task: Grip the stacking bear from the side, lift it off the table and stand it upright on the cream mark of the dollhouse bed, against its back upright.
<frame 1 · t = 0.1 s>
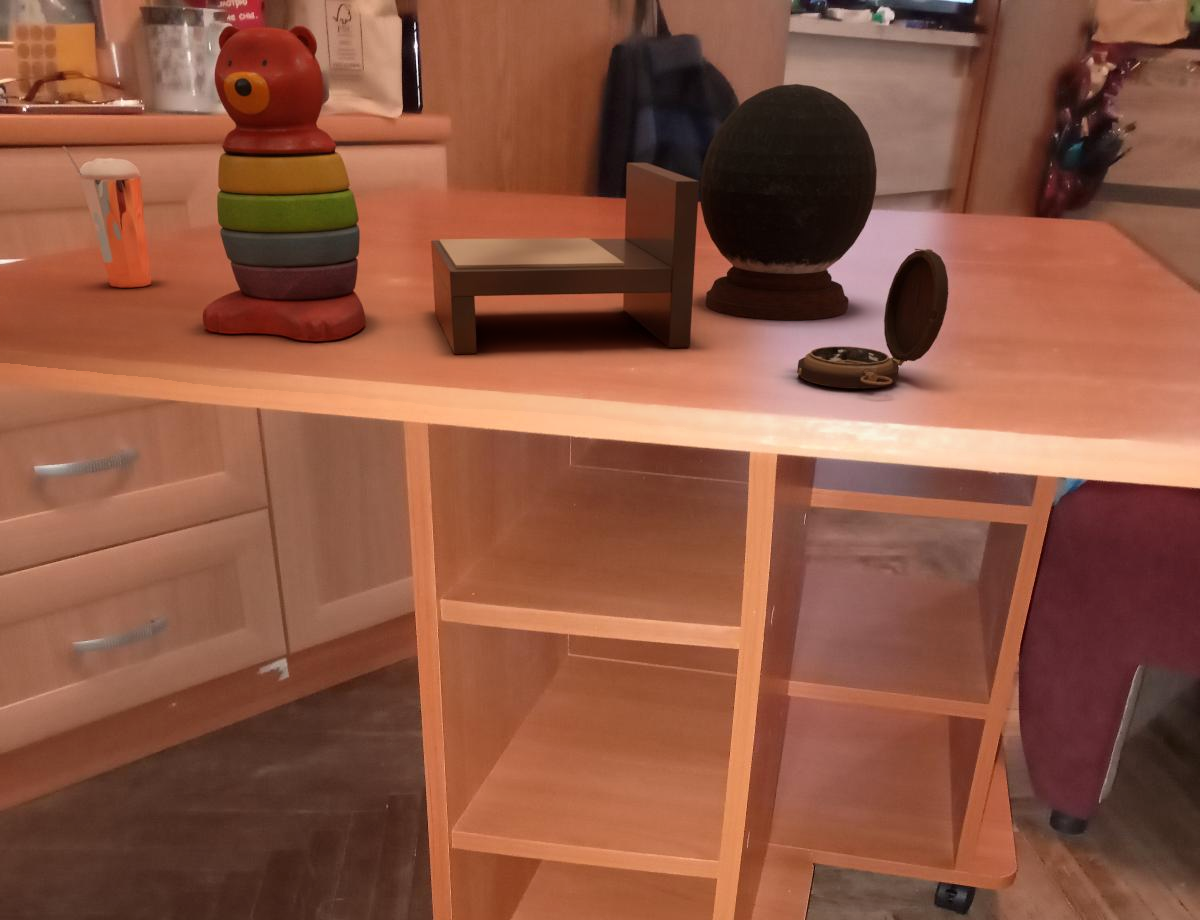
stacking bear: (298, 327, 82), on the table
dollhouse bed: (556, 329, 82), on the table
compass: (863, 386, 70), on the table
dark ball on base: (775, 308, 91), on the table
milkshake: (126, 287, 94), on the table
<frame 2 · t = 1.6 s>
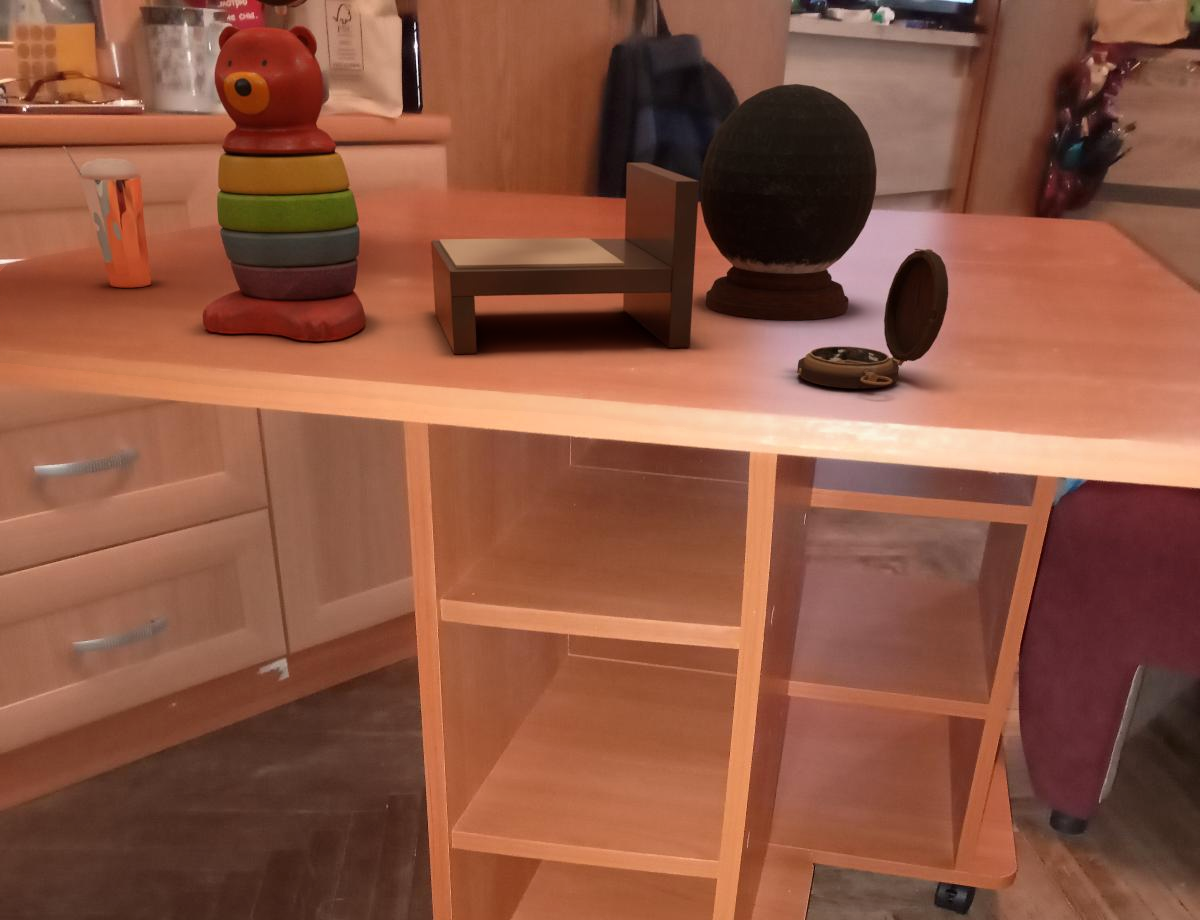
nothing on the table moved.
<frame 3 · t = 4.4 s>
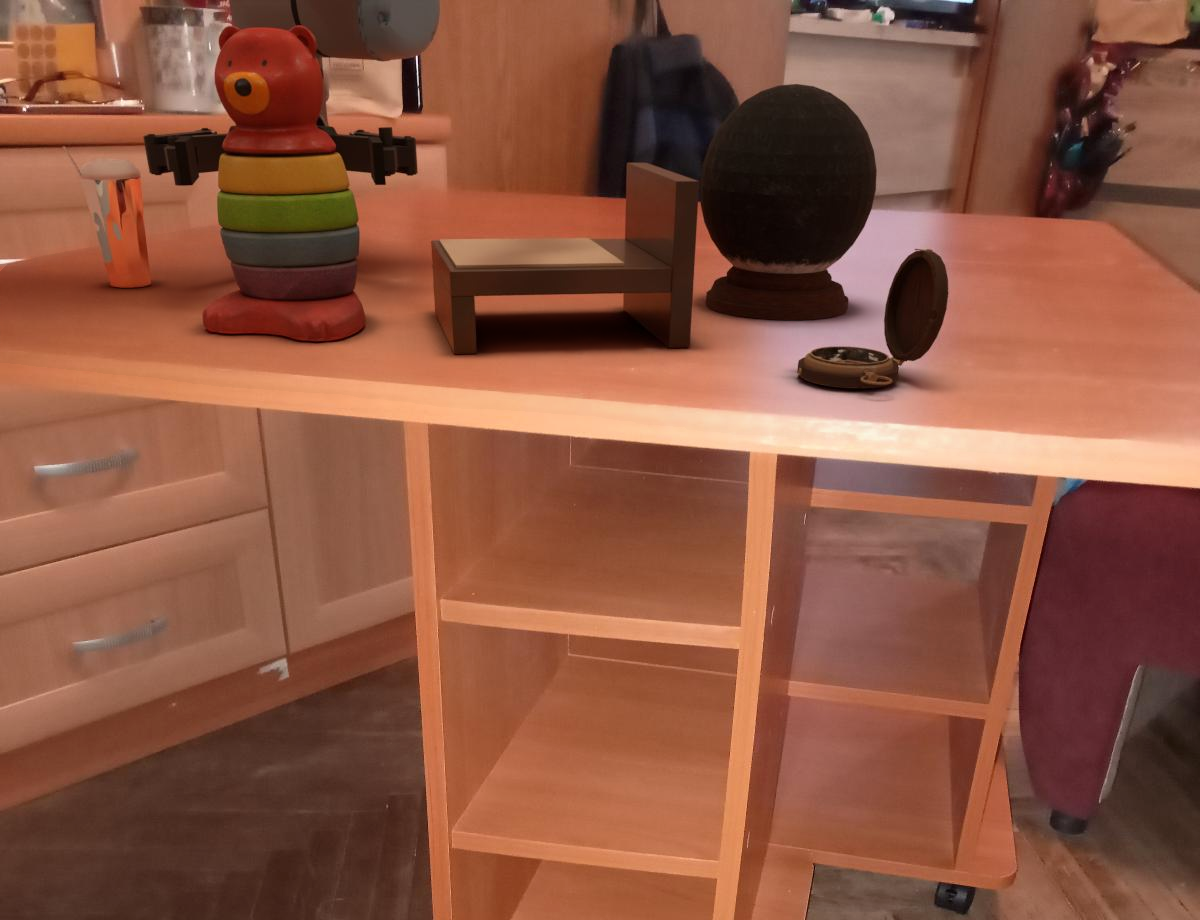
hand: (282, 163, 82), 10 cm above the table, tool horizontal, fingers open, 13 cm apart
nothing on the table moved.
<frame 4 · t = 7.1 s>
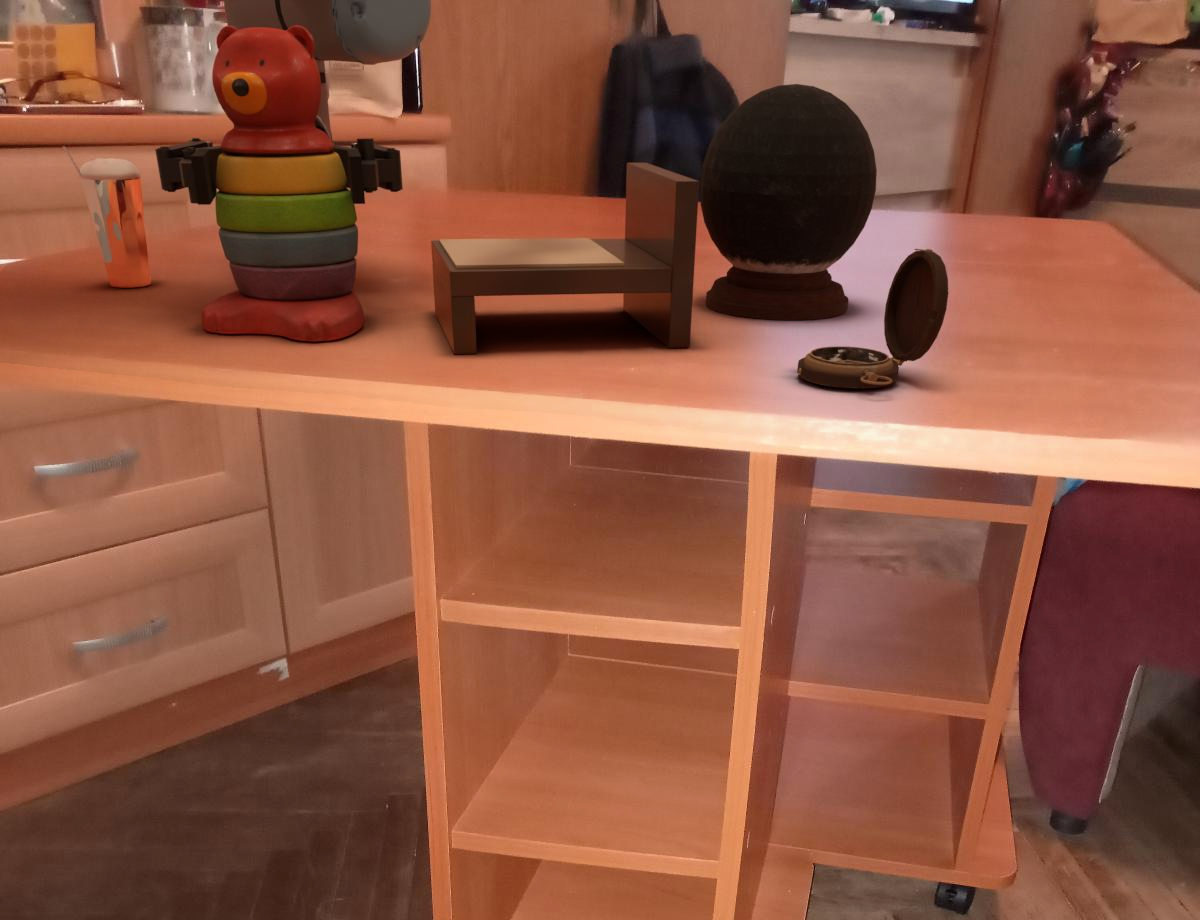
hand: (279, 180, 73), 9 cm above the table, tool horizontal, fingers closed on stacking bear, 9 cm apart
stacking bear: (297, 327, 82), on the table, touching gripper
everything else where it was.
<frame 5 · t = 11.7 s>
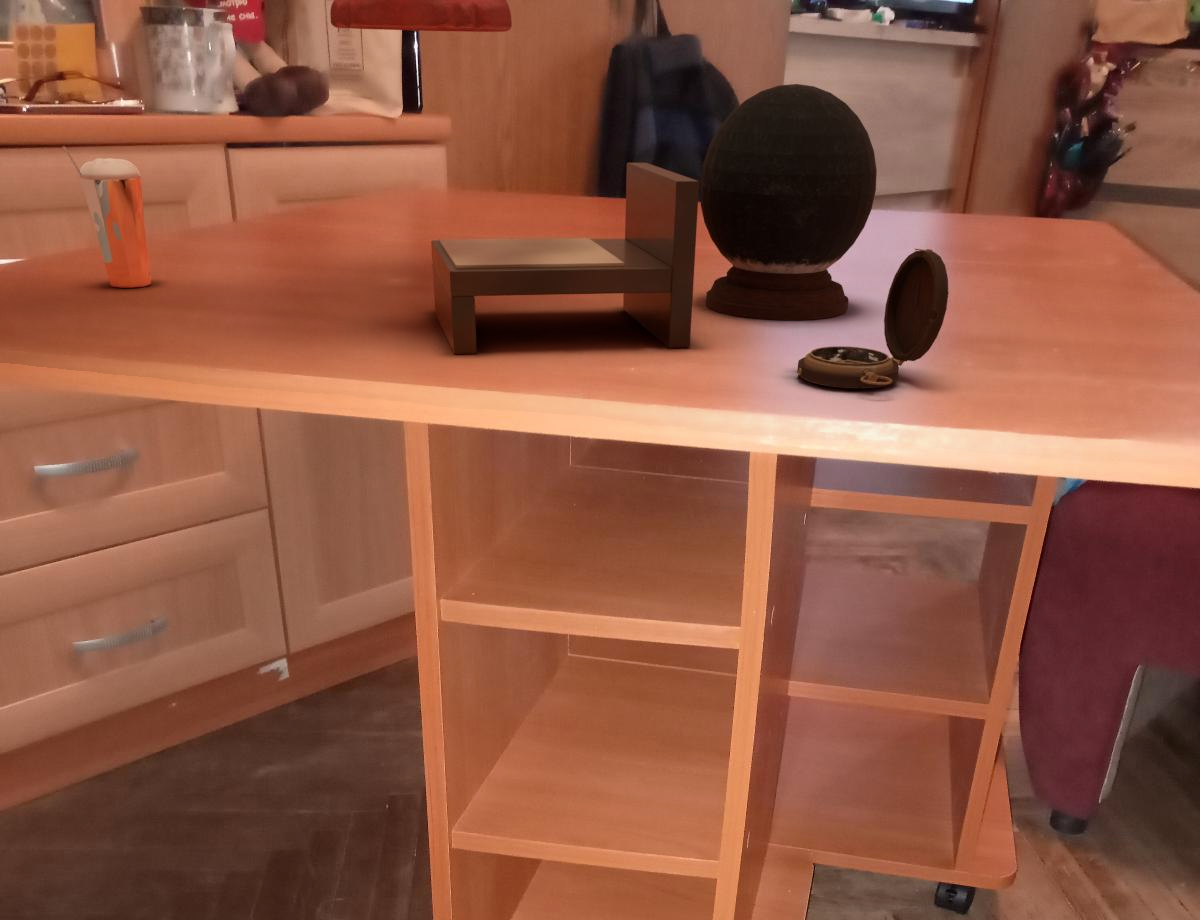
stacking bear: (435, 34, 72), point 17 cm above the table, touching gripper
everything else where it was.
when the fingers open (15 cm above the table, at t = 16.3 s): stacking bear stays where it is, resting on dollhouse bed.
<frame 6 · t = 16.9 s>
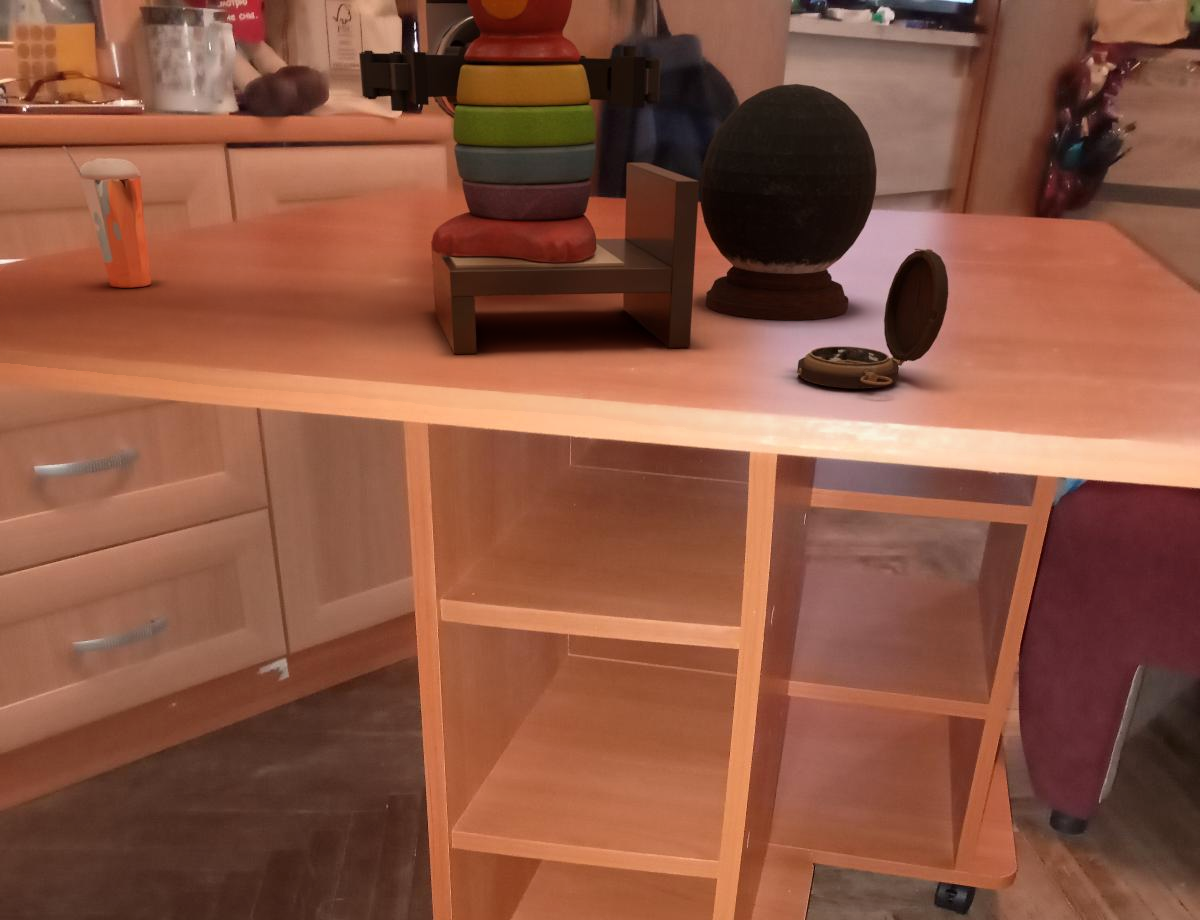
hand: (532, 80, 71), 15 cm above the table, tool horizontal, fingers open, 13 cm apart
stacking bear: (525, 252, 79), point 5 cm above the table, touching dollhouse bed
everything else where it was.
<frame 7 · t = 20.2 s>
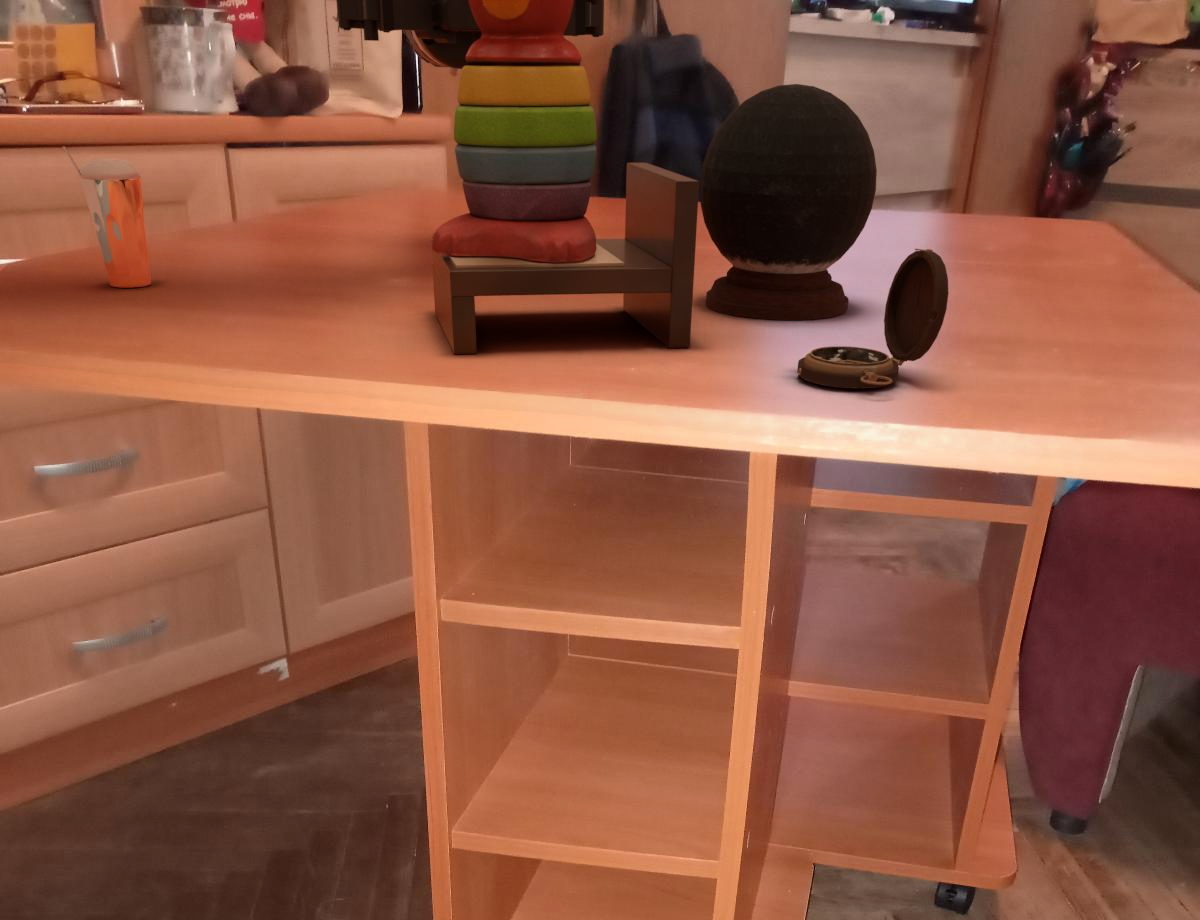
hand: (485, 9, 81), 19 cm above the table, tool horizontal, fingers open, 13 cm apart
nothing on the table moved.
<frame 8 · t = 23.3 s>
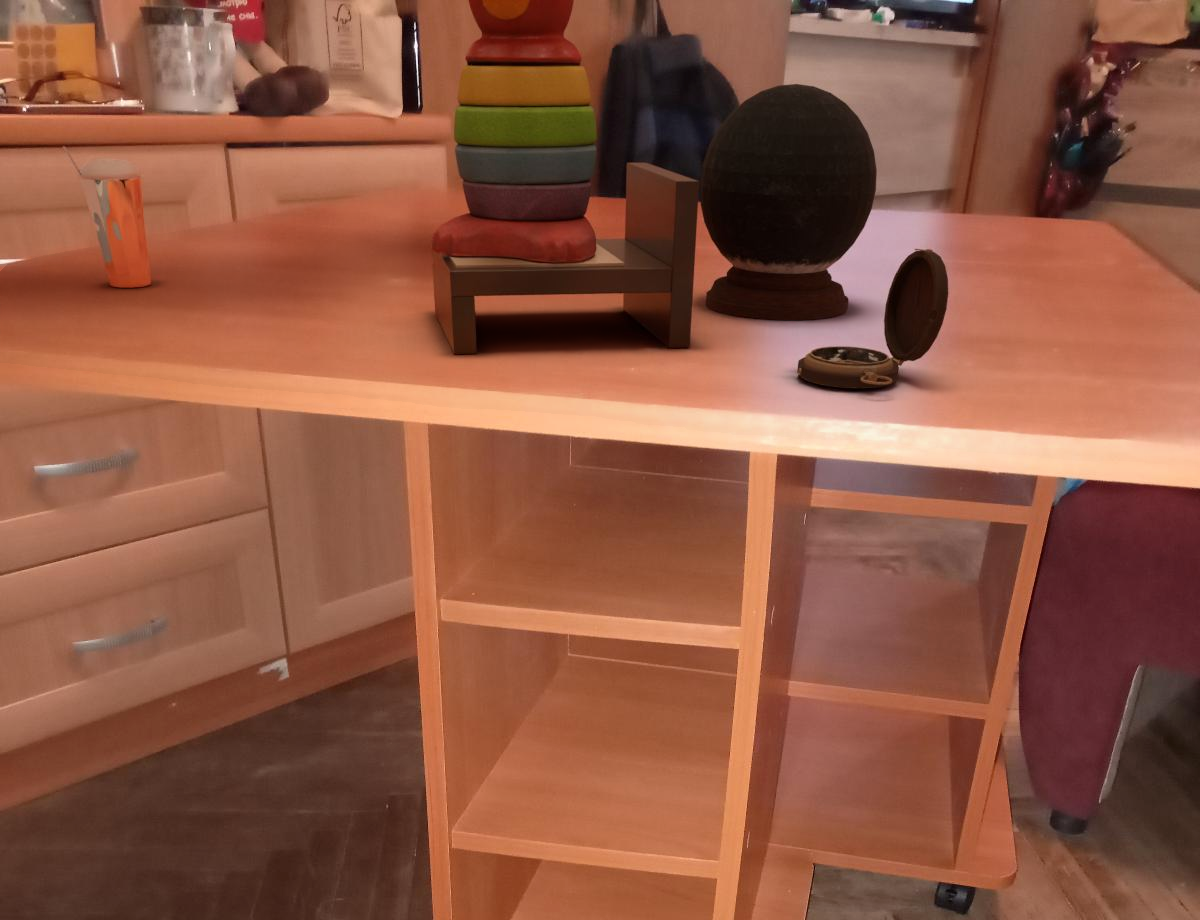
nothing on the table moved.
at the end: stacking bear 0.1 cm from the target spot, point 5.0 cm above the table; stacking bear tilted 0°; the gripper is holding nothing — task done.
